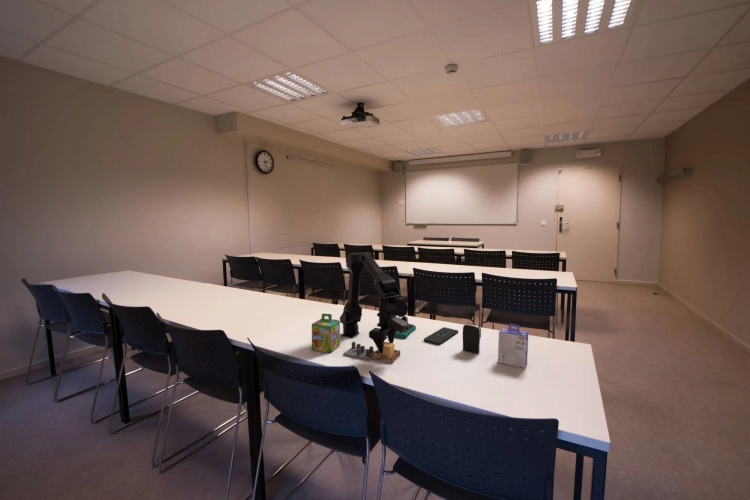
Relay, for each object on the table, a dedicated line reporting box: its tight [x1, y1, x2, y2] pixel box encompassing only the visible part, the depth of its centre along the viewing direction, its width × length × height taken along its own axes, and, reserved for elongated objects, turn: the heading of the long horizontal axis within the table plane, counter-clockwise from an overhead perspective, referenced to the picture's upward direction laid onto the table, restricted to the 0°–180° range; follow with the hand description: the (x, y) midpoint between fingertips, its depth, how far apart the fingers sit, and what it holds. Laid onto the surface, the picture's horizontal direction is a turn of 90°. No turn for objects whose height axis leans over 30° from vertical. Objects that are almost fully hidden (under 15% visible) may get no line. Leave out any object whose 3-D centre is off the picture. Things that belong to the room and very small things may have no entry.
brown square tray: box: [371, 348, 401, 364], centre depth 129 cm, size 9×8×2 cm
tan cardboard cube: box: [379, 341, 395, 357], centre depth 129 cm, size 5×4×5 cm
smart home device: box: [423, 327, 459, 346], centre depth 151 cm, size 8×2×20 cm
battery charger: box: [462, 322, 482, 355], centre depth 134 cm, size 7×4×11 cm, turn 58°
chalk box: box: [311, 313, 341, 354], centre depth 138 cm, size 9×9×15 cm
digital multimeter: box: [395, 323, 417, 339], centre depth 156 cm, size 7×15×3 cm, turn 153°
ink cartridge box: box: [497, 323, 529, 369], centre depth 123 cm, size 10×6×14 cm, turn 58°
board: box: [342, 341, 376, 362], centre depth 132 cm, size 11×8×3 cm
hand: (386, 348), depth 129 cm, fingers open, 9 cm apart
